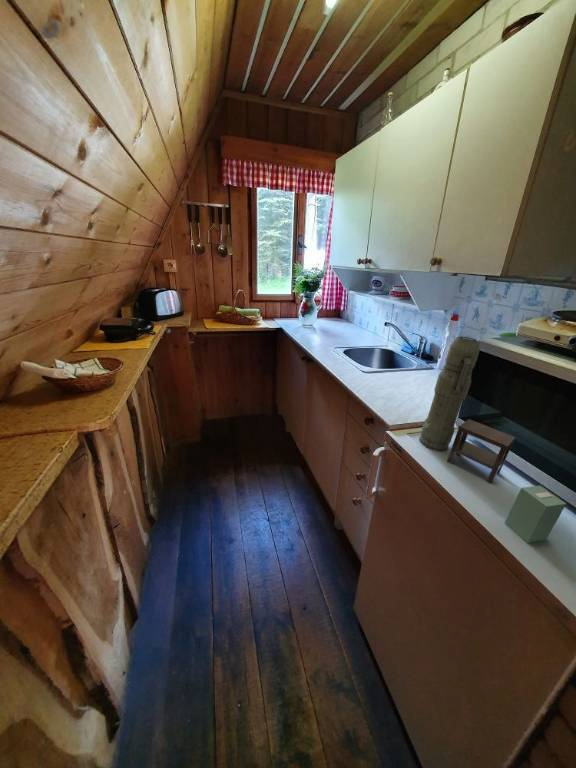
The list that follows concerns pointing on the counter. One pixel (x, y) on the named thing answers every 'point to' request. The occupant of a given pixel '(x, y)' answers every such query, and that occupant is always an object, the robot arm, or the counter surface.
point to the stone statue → (450, 393)
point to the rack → (479, 453)
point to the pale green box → (534, 513)
